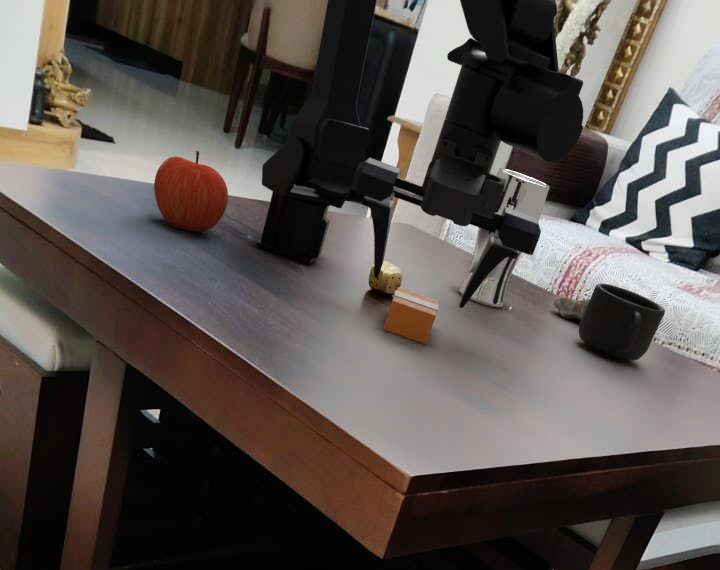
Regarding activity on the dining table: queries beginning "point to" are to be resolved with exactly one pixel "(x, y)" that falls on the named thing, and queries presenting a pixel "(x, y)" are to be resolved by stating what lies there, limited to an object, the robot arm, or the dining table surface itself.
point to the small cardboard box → (411, 315)
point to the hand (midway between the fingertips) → (418, 292)
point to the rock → (571, 307)
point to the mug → (619, 323)
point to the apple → (190, 194)
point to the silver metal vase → (516, 196)
